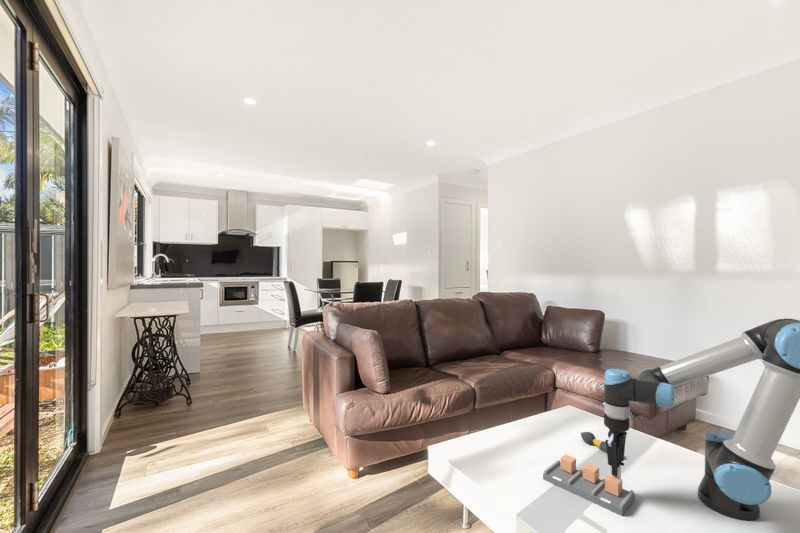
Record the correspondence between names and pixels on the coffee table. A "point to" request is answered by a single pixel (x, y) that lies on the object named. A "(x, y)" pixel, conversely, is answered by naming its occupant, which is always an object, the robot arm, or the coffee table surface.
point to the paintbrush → (593, 441)
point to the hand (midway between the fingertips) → (615, 483)
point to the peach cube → (590, 473)
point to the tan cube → (568, 463)
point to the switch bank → (588, 488)
